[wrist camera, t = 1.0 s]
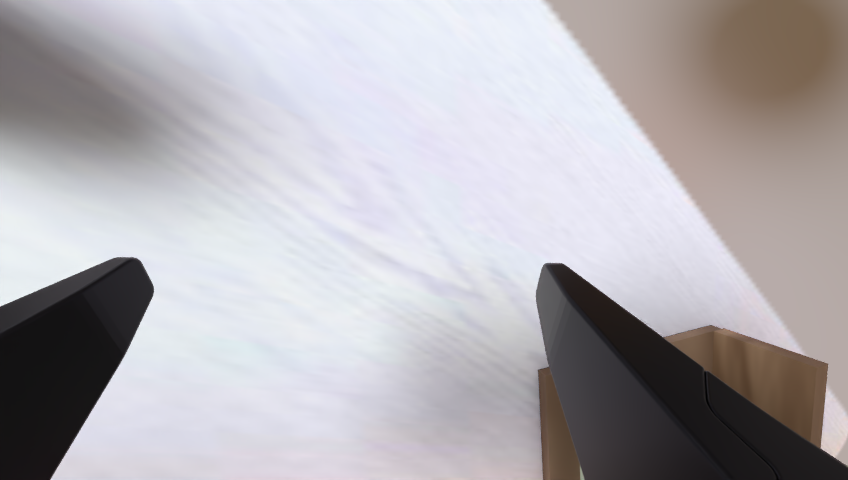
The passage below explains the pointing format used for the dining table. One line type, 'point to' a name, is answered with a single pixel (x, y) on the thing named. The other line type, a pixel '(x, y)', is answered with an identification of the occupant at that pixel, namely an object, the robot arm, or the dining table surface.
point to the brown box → (734, 365)
